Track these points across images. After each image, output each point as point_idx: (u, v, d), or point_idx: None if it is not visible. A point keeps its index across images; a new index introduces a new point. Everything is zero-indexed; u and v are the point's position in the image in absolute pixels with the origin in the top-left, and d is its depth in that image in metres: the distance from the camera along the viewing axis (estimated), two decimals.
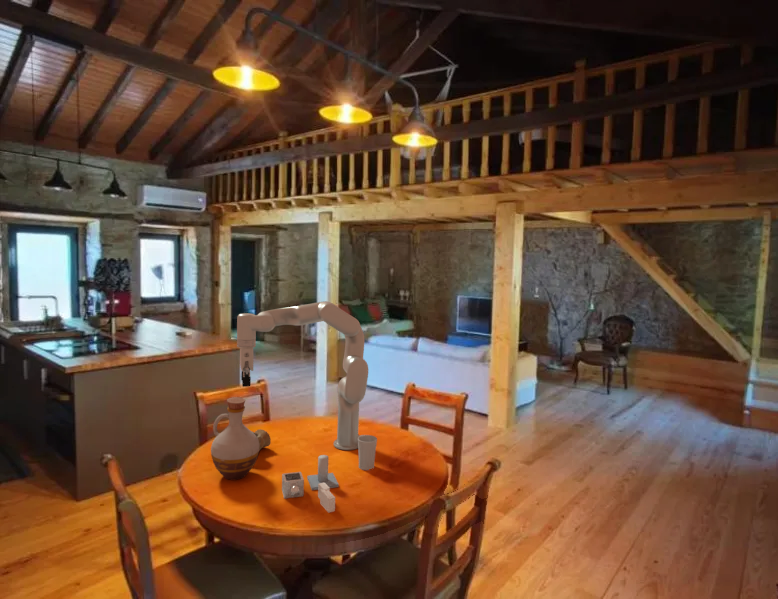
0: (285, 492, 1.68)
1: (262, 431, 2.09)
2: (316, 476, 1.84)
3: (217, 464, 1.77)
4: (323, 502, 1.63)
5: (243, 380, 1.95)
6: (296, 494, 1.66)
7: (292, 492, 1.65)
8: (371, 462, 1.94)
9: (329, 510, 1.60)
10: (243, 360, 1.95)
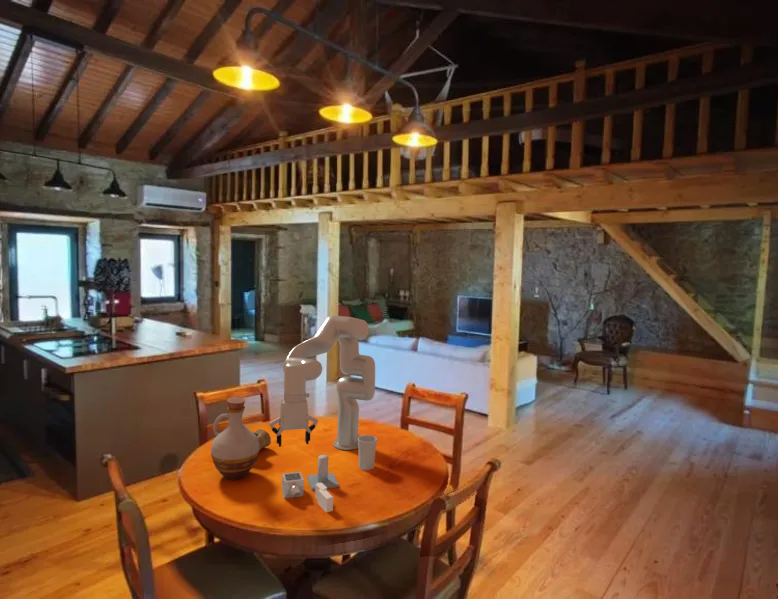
0: (285, 492, 1.68)
1: (263, 431, 2.09)
2: (316, 476, 1.84)
3: (217, 464, 1.77)
4: (321, 502, 1.63)
5: (308, 437, 1.71)
6: (296, 494, 1.66)
7: (292, 492, 1.65)
8: (371, 462, 1.94)
9: (327, 510, 1.61)
10: None
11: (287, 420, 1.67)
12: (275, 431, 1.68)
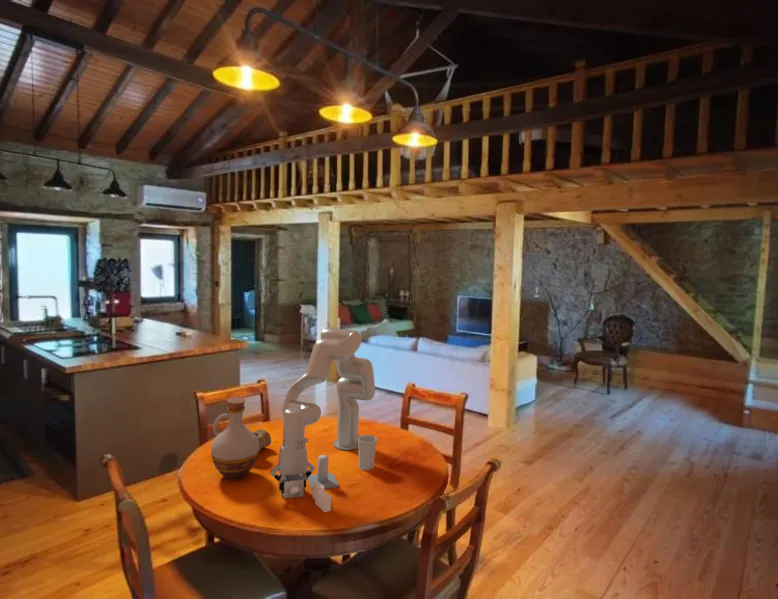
0: (285, 492, 1.68)
1: (263, 431, 2.10)
2: (316, 476, 1.84)
3: (217, 464, 1.77)
4: (319, 502, 1.63)
5: (304, 483, 1.73)
6: (296, 494, 1.66)
7: (292, 492, 1.65)
8: (371, 462, 1.94)
9: (325, 510, 1.61)
10: None
11: (287, 465, 1.69)
12: (277, 478, 1.70)
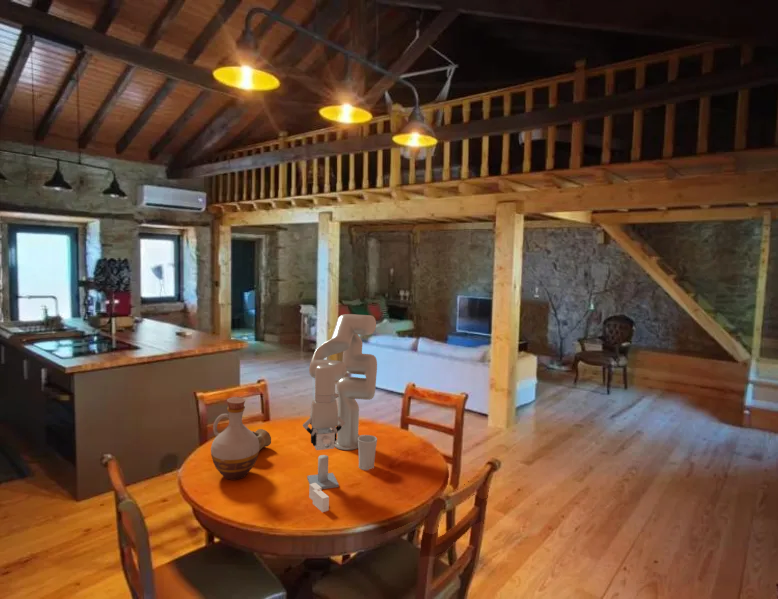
0: (317, 444, 1.76)
1: (263, 431, 2.10)
2: (316, 476, 1.84)
3: (217, 464, 1.77)
4: (317, 502, 1.63)
5: (335, 437, 1.80)
6: (328, 445, 1.73)
7: (324, 443, 1.73)
8: (371, 462, 1.94)
9: (323, 510, 1.61)
10: (337, 414, 1.79)
11: (318, 419, 1.76)
12: (310, 431, 1.77)
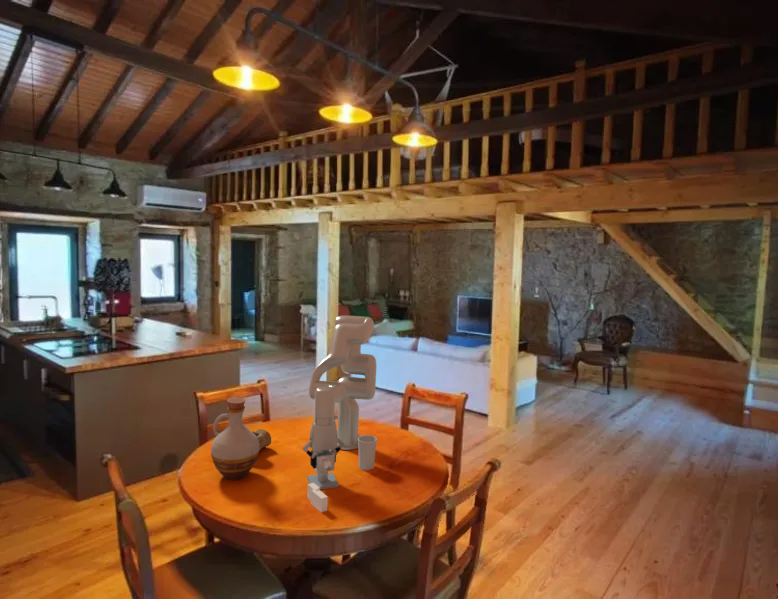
0: (317, 467, 1.76)
1: (263, 431, 2.10)
2: (316, 476, 1.84)
3: (217, 464, 1.77)
4: (315, 502, 1.63)
5: None
6: (329, 468, 1.74)
7: (325, 466, 1.74)
8: (371, 462, 1.94)
9: (322, 510, 1.61)
10: (337, 435, 1.81)
11: (319, 441, 1.77)
12: (310, 454, 1.77)
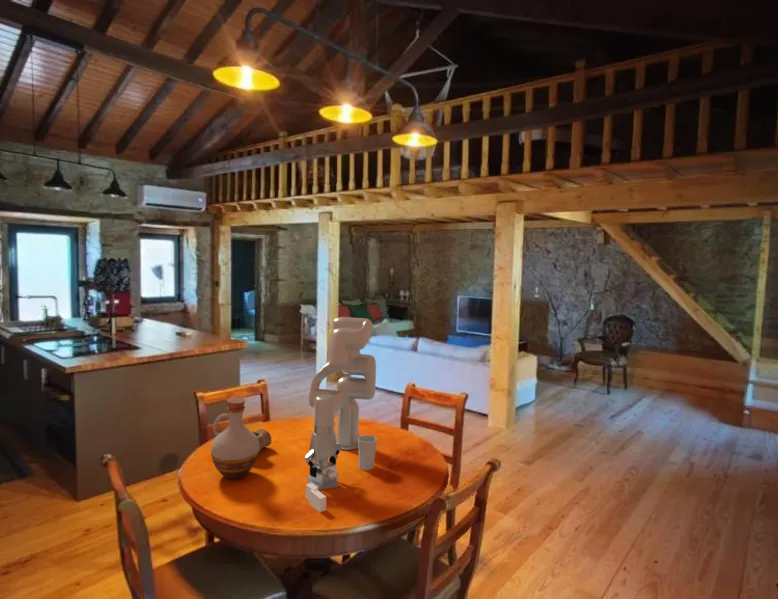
0: (322, 479, 1.77)
1: (263, 431, 2.10)
2: None
3: (217, 464, 1.77)
4: (314, 502, 1.63)
5: None
6: (336, 478, 1.77)
7: (333, 477, 1.76)
8: (371, 462, 1.94)
9: (320, 510, 1.60)
10: None
11: (322, 450, 1.77)
12: (311, 464, 1.75)
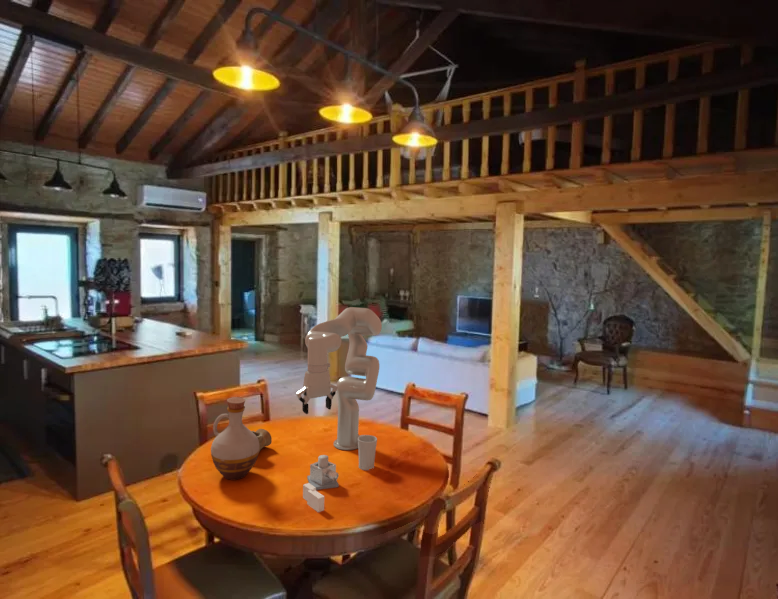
0: (322, 479, 1.77)
1: (263, 431, 2.10)
2: None
3: (217, 464, 1.77)
4: (312, 502, 1.63)
5: None
6: (336, 478, 1.77)
7: (333, 477, 1.76)
8: (371, 462, 1.94)
9: (319, 510, 1.60)
10: None
11: (314, 388, 1.81)
12: (302, 400, 1.81)
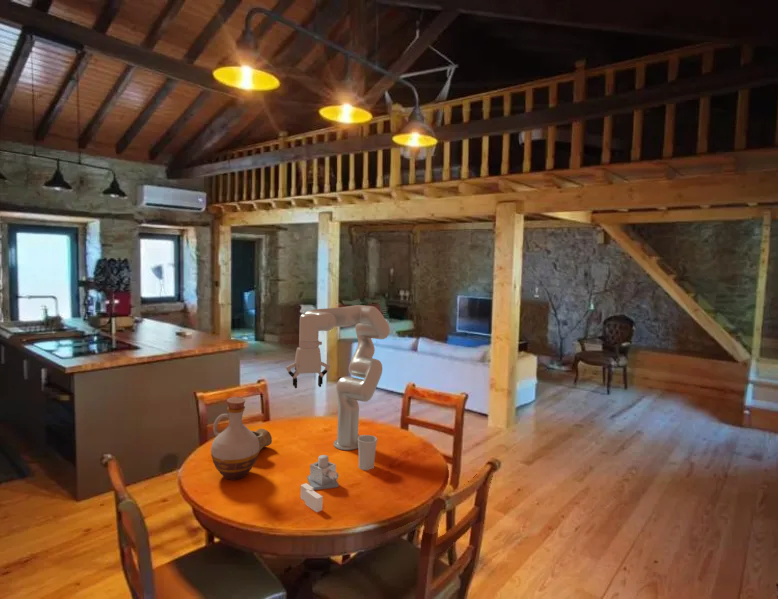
0: (322, 479, 1.77)
1: (264, 431, 2.10)
2: None
3: (217, 464, 1.77)
4: (310, 502, 1.63)
5: (321, 380, 1.92)
6: (336, 478, 1.77)
7: (333, 477, 1.76)
8: (371, 462, 1.94)
9: (317, 510, 1.60)
10: None
11: (302, 364, 1.87)
12: (291, 374, 1.88)
